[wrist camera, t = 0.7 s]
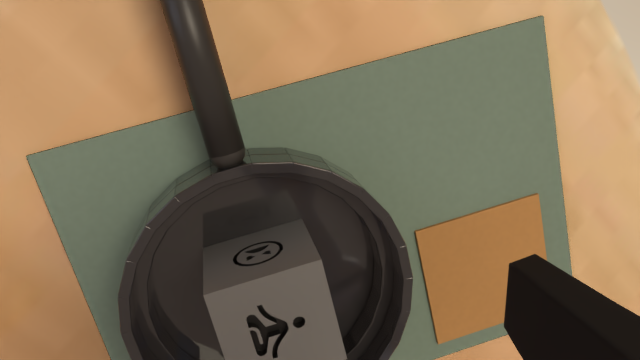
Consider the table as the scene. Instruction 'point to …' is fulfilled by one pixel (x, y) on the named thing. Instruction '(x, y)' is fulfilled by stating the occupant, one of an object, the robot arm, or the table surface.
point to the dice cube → (271, 297)
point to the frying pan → (252, 216)
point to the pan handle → (205, 80)
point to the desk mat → (362, 175)
